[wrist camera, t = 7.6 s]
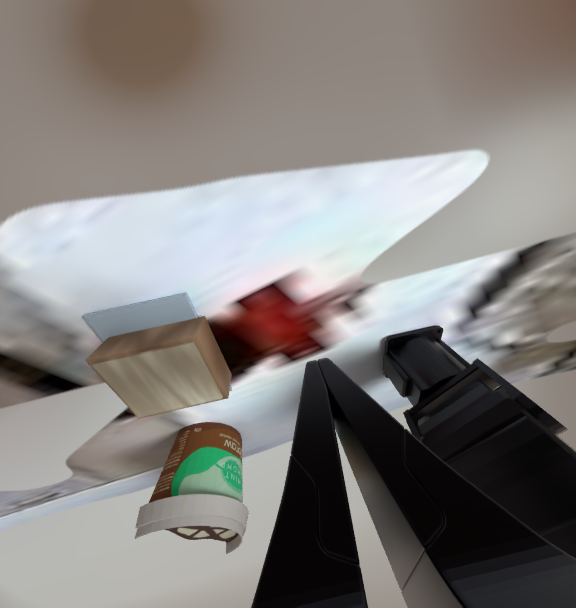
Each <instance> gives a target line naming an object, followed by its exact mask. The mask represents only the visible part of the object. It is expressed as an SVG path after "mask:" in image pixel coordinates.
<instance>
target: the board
mask: <svg viewBox="0 0 576 608" xmlns="http://www.w3.org/2000/svg"><path fill="white" fill-rule="evenodd" d="M82 317H83V319H84V320H85V321H86V322H87V323H88V325H89V326H90V327H91V328H92V330H93V331H94V332H95V333H96V334H97V336H98V337H99V338H100V339H101V341H102V342H104V341H105V340H106V339H107V338H108V337H112V336H117V335H121V334H126V333H130V332H135V331H139V330H144V329H149V328H153V327H158V326H162V325H167V324H172V323H176V322H181V321H185V320H190V319H194V318H198V316H197V314H196V311H195V309H194V307H193V305H192V303H191V301H190V299H189V297H188V295H187V293H182V294H177V295H173V296H168V297H163V298H159V299H154V300H149V301H145V302H140V303H136V304H131V305H126V306H122V307H117V308H112V309H108V310H103V311H98V312H94V313H89V314H85V315H84V316H82ZM229 391H232V387H231V385H230V389H229Z"/></svg>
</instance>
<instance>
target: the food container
mask: <svg viewBox="0 0 576 608" xmlns="http://www.w3.org/2000/svg"><path fill="white" fill-rule="evenodd" d="M247 519H248V509H247V507H246V506H245V505H244V504H243V496H242V439H241V435H240V433H239V432H238V431H237V430H236V429H234V428H233V427H231V426H229V425H226V424H222V423H215V422H205V423H197V424H193V425H190V426H187V427H185V428H183V429H181V430H180V431H179V433H178V435H177V438H176V440H175V443H174V445H173V447H172V450H171V452H170V454H169V457H168V459H167V461H166V464H165V466H164V468H163V471H162V473H161V475H160V478H159V480H158V482H157V485H156V488H155V490H154V492H153V494H152V497H151V499H150V501H149V503H148V504H146V505H144V506H142V507H140V511H139V515H138V519H137V523H136V528H138V529H137V533H136V536H135V539H136V538H138V537H140V536H143V535H146V534H148V533H151V532H155V531H159V530H163V529H165V530H169V531H171V532H173V533H175V534H177V535H179V536H181V537H183V538H186V539H189V540H198V539H215V540H220V541H225V542H226V554H227V553H230V552H232V551H233V550H235V549H236V548H237V547H239V546H240V544H241V542H242V538H243V535H244V533H245V530H246V524H247Z"/></svg>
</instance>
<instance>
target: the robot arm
mask: <svg viewBox="0 0 576 608" xmlns="http://www.w3.org/2000/svg"><path fill="white" fill-rule="evenodd" d="M442 333H443V328H442V327H440V326H434V327H429V328H425V329H421V330H416V331H412V332H407V333H403V334H398V335H394V336H390V337H388V338H387V339H386V347H385V354H384V361H383V370H384V375H385V377H387V378H389V379H390V380H391V382H392V383H393V385H394V386H395V388H396V389H397V391H398V392H399V394H400V395H401V396H402V397H407V398H408V399H409V401H410V402H411V404H412V405H413V407H412V408H411V409H409V410H406V411H405V412H403V413H404V416H405V418H406V420H407V421H406V422H407V424H408V426H409V428H410V430H411V433H412V434H411V433H410V432H409V431H408V430H407V429H404V427H403V426H402V425H401V424H400V423H399V422H398V421H397V420H396V419H395V418H394V417H392V416H391V415H390V414H389V413H388V412H387V411H386V410H385V409H384V408H383V407H381V406H380V405H379V404H378V403H377V402H376V401H375V400H374V399H373V398H372V397H370V396H369V395H368V394H367V393H366V392H365V391H364V390H363V389H362V388H361V387H359V386H358V385H357V384H356V383H355V382H354V381H353V380H352V379H351V378H350V377H348V376H347V375H346V374H345V373H344V372H343V371H342V370H341V369H340V368H339V367H337V366H336V365H335V364H334V363H333V362H332V361H331V360H330V359H328V358H324V359H319V360H318V361H316V360H315V361H310V362H307V364H306V368H305V374H304V380H303V386H302V392H301V397H300V403H299V409H298V415H297V421H296V426H295V432H294V438H293V444H292V450H291V456H290V460H289V466H288V471H287V477H286V482H285V486H284V491H283V495H282V500H281V504H280V507H279V511H278V515H277V519H276V522H275V527H274V530H273V533H272V537H271V540H270V544H269V547H268V551H267V554H266V558H265V562H264V565H263V569H262V572H261V576H260V579H259V583H258V586H257V590H256V593H255V597H254V600H253V604H252V606H251V608H368V605H367V600H366V594H365V589H364V584H363V580H362V573H361V568H360V566H359V557H358V551H357V546H356V541H355V535H354V530H353V524H352V519H351V513H350V509H349V503H348V497H347V492H346V486H345V481H344V476H343V470H342V465H341V459H340V454H339V448H338V443H337V437H336V432H337V434H338V437H339V439H340V441H341V444H342V446H343V449H344V451H345V454H346V456H347V459H348V461H349V464H350V466H351V469H352V471H353V474H354V476H355V478H356V481H357V483H358V486H359V488H360V491H361V493H362V496H363V498H364V501H365V503H366V505H367V508H368V511H369V513H370V515H371V518H372V520H373V523H374V525H375V528H376V530H377V533H378V535H379V538H380V540H381V542H382V545H383V548H384V550H385V552H386V555H387V557H388V560H389V562H390V565H391V567H392V570H393V572H394V575H395V577H396V580H397V582H398V585H399V587H400V589H401V590H402V595H403V597H404V600H405V602H406V604H407V607H408V608H576V451H575V450H574V449H573V448H572V447H570V446H569V445H568V444H567V443H566V442H565V441H563V440H562V439H561V438H560V437H559V436H557V435H559V434H561V433H563V432H565V431H567V430H568V429H567V428H566V427H564V426H563V425H562V424H561V423H559V422H558V421H557V420H556V419H554V418H553V417H552V416H551V415H549V414H548V413H547V412H546V411H544V410H543V409H542V408H540V407H539V406H538V405H537V404H536V403H534V402H533V401H532V400H531V399H529V398H528V397H527V396H525V395H524V394H523V393H522V392H520V391H519V390H518V389H516V388H515V387H514V386H513V385H511V384H510V383H509V382H507V381H506V380H505V379H504V378H502V377H501V376H500V375H498V374H497V373H496V372H495V371H493V370H492V369H491V368H489V367H488V366H487V365H485V364H484V363H483V362H482V361H480V360H479V359H478V358H477V359H476V360H475V361H473V363H472V364H471V365H470V364H469V363H468V362H467V361H466V360H464V359H463V358H462V357H461V356H460V355H458V354H457V353H456V352H455V351H454V350H453V349H451V348H450V347H449V346H448V345H447V344H445V343H444V342H443V341H442V340H441V337H442ZM500 385H501V386H500ZM498 386H499V387H498ZM496 387H498V388H496ZM495 388H496V389H495ZM494 389H495V390H494ZM335 429H336V432H335Z"/></svg>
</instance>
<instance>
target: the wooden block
mask: <svg viewBox="0 0 576 608" xmlns="http://www.w3.org/2000/svg"><path fill="white" fill-rule="evenodd" d="M86 362H87V363H88V364H89V365H90V366H91V367H92V368H93V369H94V370H95V371H96V373H97V374H98V375H99V376H100V377H101V378H102V379H103V380H104V381H105V382H106V383H107V384H108V385H109V387H110V388H111V389H112V390H113V391H114V392H115V393H116V394H117V395H118V396H119V397H120V398H121V400H122V401H123V402H124V403H125V404H126V405H127V406H128V407H129V408H130V409H131V411H132V412H133V413H134V414H135V415H136V416H137V417H138V418H143V417H147V416H151V415H156V414H160V413H165V412H169V411H174V410H178V409H182V408H187V407H191V406H196V405H200V404H205V403H209V402H214V401H218V400H222V399H227V398H228V396H229V389H230V382H231V373H230V370H229V368H228V366H227V364H226V362H225V359H224V357H223V355H222V353H221V351H220V348H219V346H218V344H217V342H216V340H215V338H214V335H213V333H212V331H211V329H210V327H209V324H208V322H207V320H206V318H205V316H204V317H199V318H194V319H190V320H185V321H181V322H176V323H172V324H167V325H162V326H158V327H153V328H149V329H144V330H139V331H135V332H130V333H126V334H121V335H117V336H112V337H108V338H107V339H106V340H105V341H104V342H103V343H102V344H101V345H100V346H99V347H98V348H97V349H96V350H95V351H94V353H93V354H92V355H91V356H90V357H89V358H88V359H87V360H86Z"/></svg>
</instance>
